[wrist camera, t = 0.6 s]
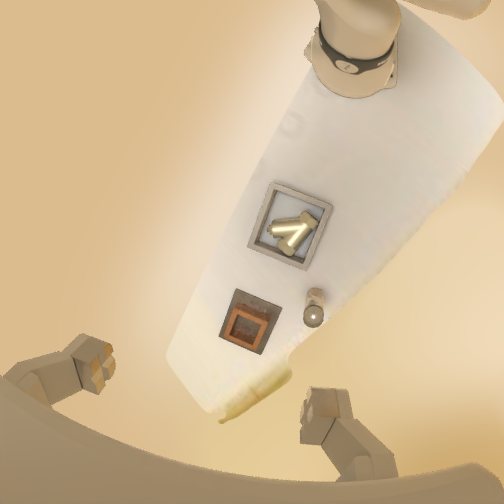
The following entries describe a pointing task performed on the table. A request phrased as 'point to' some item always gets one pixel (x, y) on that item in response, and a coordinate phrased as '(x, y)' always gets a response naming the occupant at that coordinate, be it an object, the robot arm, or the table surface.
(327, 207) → the parts corral
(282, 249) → the pipe fitting
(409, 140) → the table surface
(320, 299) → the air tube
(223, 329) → the collar
